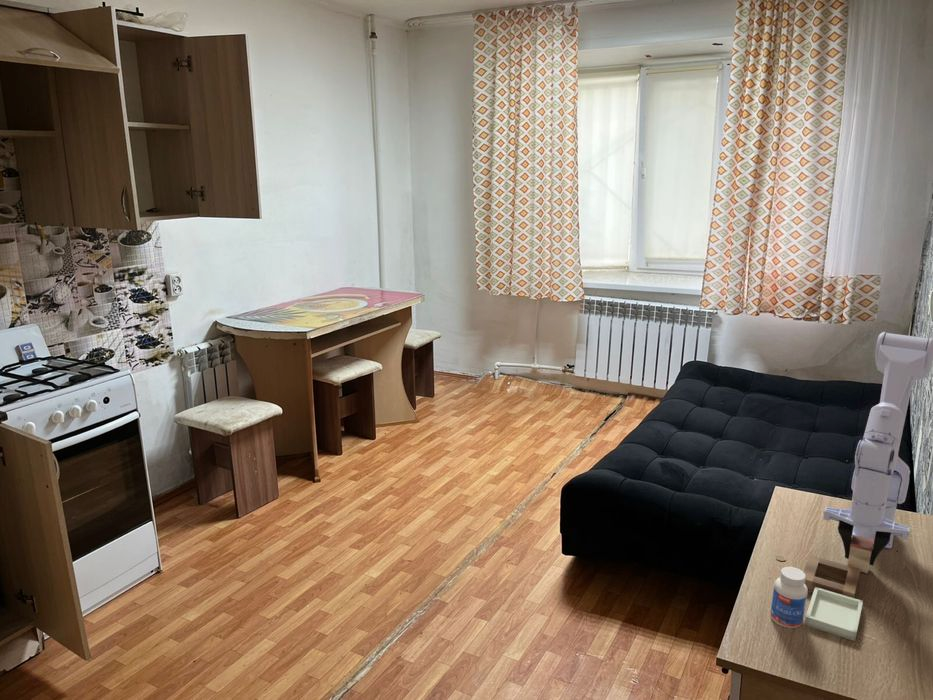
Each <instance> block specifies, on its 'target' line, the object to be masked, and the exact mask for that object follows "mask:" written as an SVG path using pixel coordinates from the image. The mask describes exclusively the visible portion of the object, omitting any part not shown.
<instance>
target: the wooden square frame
mask: <svg viewBox="0 0 933 700" xmlns="http://www.w3.org/2000/svg"><path fill="white" fill-rule="evenodd" d="M803 572H804V573H805V575H806V578H805V583H804V584H805V585H806V586H807V589H808V593H812V594H813V592H814V589H815V587H818V588H821V589H825V590H828V591H832V592H835V593H838V594H842V595H845V596H848V597H852V598H855V596H856V592H857V588H858V584H859V579H860V573H861V571H860V569H859V568H855V567H852V566H848V564H844V563H840V562H836V561H833V560H830V559H825V558H822V557H818V556H814V555H812V554H809V555H808V559H807V561H806V565H805V568H804V570H803ZM818 574H819V575H823V576H826V577H830V578H833V579H836V580H840V581H844V584H842V583H839V582H835V581H832V580H828V579H826V578H825V579H824V578H822V577H819V576H817V575H818ZM855 599H856V598H855Z"/></svg>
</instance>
